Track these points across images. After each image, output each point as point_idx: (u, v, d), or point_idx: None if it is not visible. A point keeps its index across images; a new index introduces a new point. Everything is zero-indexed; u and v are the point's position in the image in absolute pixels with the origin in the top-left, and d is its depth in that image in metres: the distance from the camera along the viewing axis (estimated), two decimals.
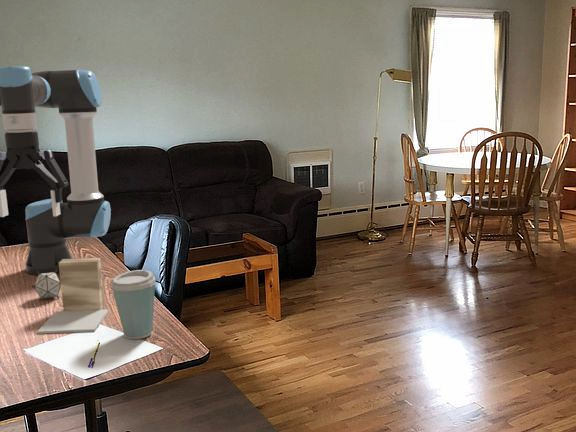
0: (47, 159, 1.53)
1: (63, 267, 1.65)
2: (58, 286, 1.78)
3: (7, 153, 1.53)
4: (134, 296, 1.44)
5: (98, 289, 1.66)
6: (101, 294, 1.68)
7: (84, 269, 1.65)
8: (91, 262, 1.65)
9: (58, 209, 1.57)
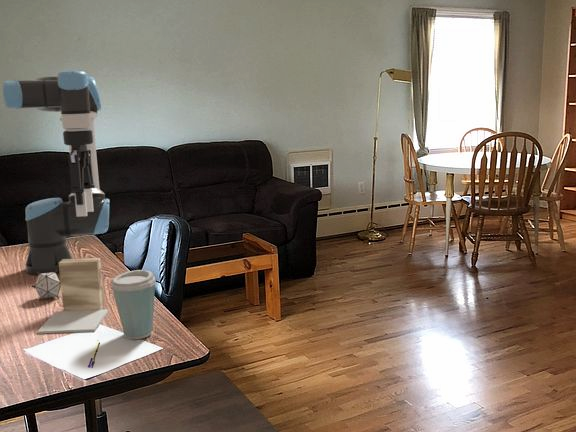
0: None
1: (63, 267, 1.65)
2: (58, 286, 1.78)
3: None
4: (134, 296, 1.44)
5: (98, 289, 1.66)
6: (101, 294, 1.68)
7: (84, 269, 1.65)
8: (91, 262, 1.65)
9: (82, 211, 1.69)
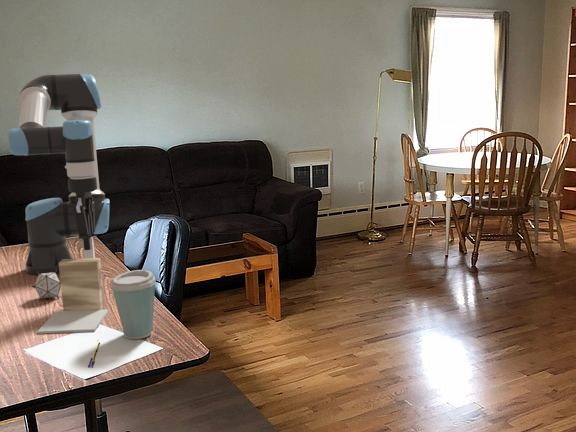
0: None
1: (63, 267, 1.65)
2: (58, 286, 1.78)
3: None
4: (134, 296, 1.44)
5: (98, 289, 1.66)
6: (101, 294, 1.68)
7: (84, 269, 1.65)
8: (91, 262, 1.65)
9: (90, 255, 1.75)
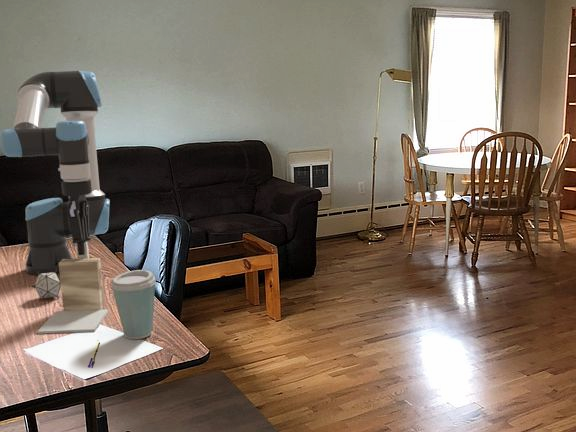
0: None
1: (63, 267, 1.65)
2: (58, 286, 1.78)
3: None
4: (134, 296, 1.44)
5: (98, 289, 1.66)
6: (101, 294, 1.68)
7: (84, 269, 1.65)
8: (91, 262, 1.65)
9: None
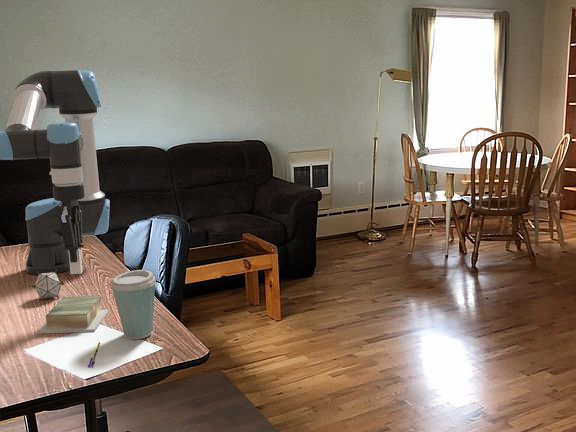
0: None
1: None
2: (58, 286, 1.78)
3: None
4: (134, 296, 1.44)
5: None
6: (97, 308, 1.64)
7: None
8: None
9: (77, 268, 1.62)
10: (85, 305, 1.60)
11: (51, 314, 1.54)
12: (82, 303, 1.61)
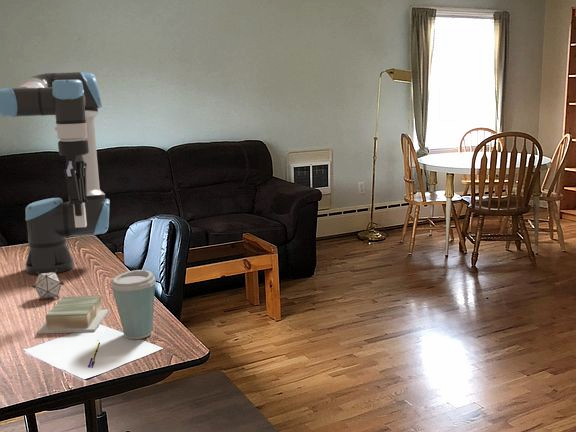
0: None
1: None
2: (58, 286, 1.78)
3: None
4: (134, 296, 1.44)
5: None
6: (97, 308, 1.64)
7: None
8: None
9: (81, 222, 1.68)
10: (85, 305, 1.60)
11: (51, 314, 1.54)
12: (82, 303, 1.61)
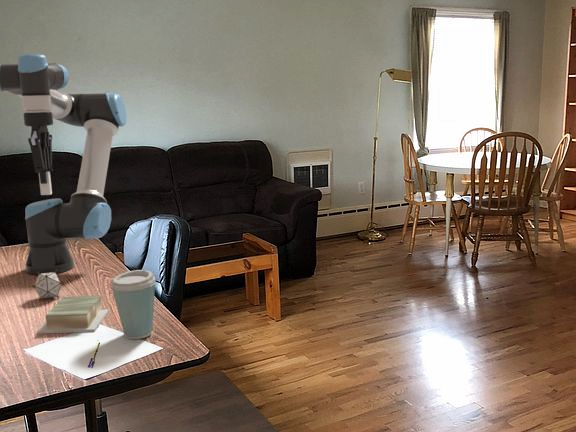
0: None
1: None
2: (58, 286, 1.78)
3: None
4: (134, 296, 1.44)
5: None
6: (97, 308, 1.64)
7: None
8: None
9: (46, 190, 1.78)
10: (85, 305, 1.60)
11: (51, 314, 1.54)
12: (82, 303, 1.61)
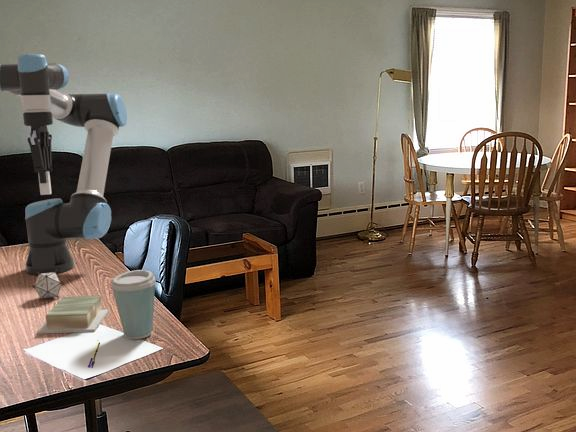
0: None
1: None
2: (58, 286, 1.78)
3: None
4: (134, 296, 1.44)
5: None
6: (97, 308, 1.64)
7: None
8: None
9: (46, 189, 1.78)
10: (85, 305, 1.60)
11: (51, 314, 1.54)
12: (82, 303, 1.61)
